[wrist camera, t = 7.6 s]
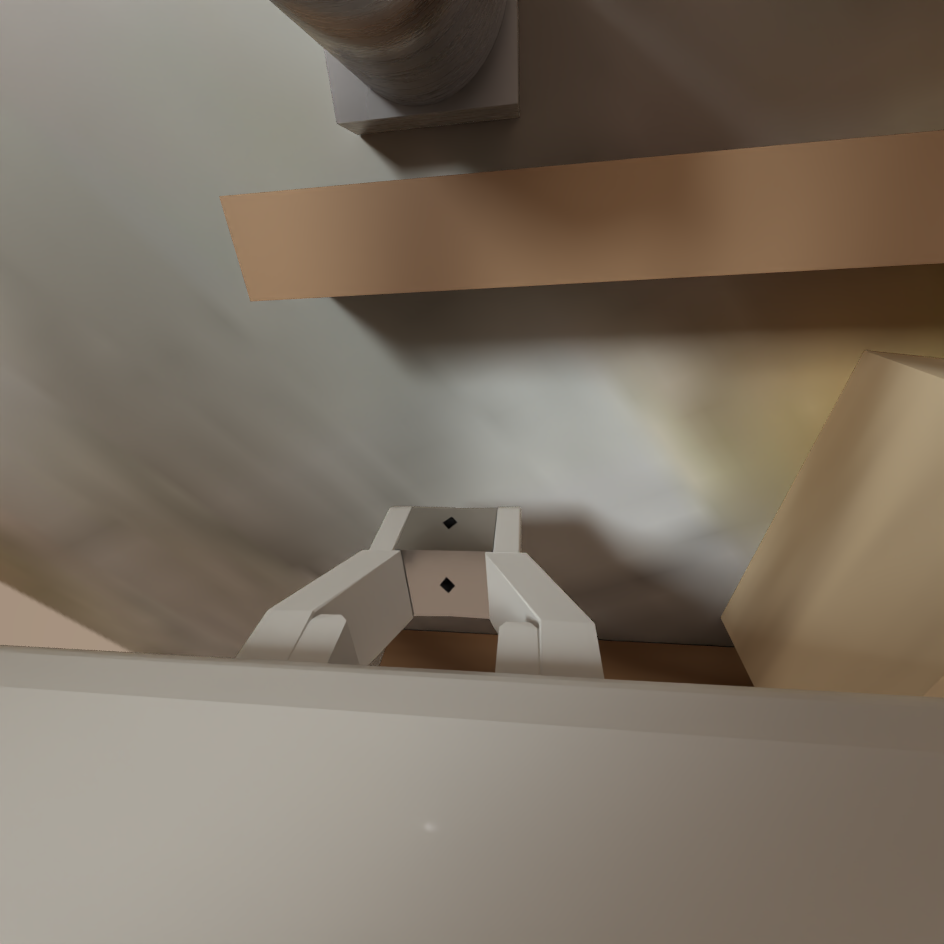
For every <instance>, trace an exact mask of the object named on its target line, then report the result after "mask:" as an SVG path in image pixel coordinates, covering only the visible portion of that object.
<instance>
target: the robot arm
mask: <svg viewBox="0 0 944 944" xmlns="http://www.w3.org/2000/svg"><path fill="white" fill-rule="evenodd" d="M413 616H455V617H470V618H485V619H490V621H491V623H492V625H493V627H494V629H495V630H496V632H497V634H498V645H497V657H496V668H495V673H494V672H476V671H459V670H441V669H423V668H404V667H386V666H368V665H369V664H370V663H371V662H372V661H373V660H374V659H375V658H376V657H377V656H378V655H379V654H380V653H381V652H382V651H383V649H384V648H385V647H386V646H387V645H388V644H389V643H390V642H391V641H392V640H393V639H394V638H395V637H396V636H397V635H398V634H399V633H400V632H401V630H402V629H403V628H404V627H405V626H406V625H407V624H408V623H409V622H410V621H411V620H412V619H413ZM0 944H944V698H943V697H925V696H907V695H889V694H871V693H853V692H835V691H817V690H799V689H781V688H763V687H745V686H727V685H709V684H691V683H672V682H653V681H634V680H615V679H604V674H603V668H602V662H601V656H600V651H599V645H598V639H597V633H596V628H595V623H594V622H593V621H592V620H591V619H590V618H589V617H588V616H587V615H586V614H585V613H584V612H583V611H582V610H581V609H580V608H579V607H578V606H577V605H576V604H575V603H574V602H573V600H572V599H571V598H570V597H569V596H568V595H567V594H566V593H565V592H564V591H563V590H562V589H561V588H560V587H559V586H558V585H557V584H556V583H555V582H554V581H553V580H552V579H551V578H550V577H549V576H548V574H547V573H546V572H545V571H544V570H543V569H542V568H541V567H540V566H539V565H538V564H537V563H536V562H535V561H534V560H533V559H532V558H531V557H530V556H529V555H528V554H527V553H522V540H521V508H520V507H498V508H456V507H420V506H414V507H412V506H393V507H391V508H390V509H389V510H388V512H387V514H386V516H385V518H384V520H383V522H382V524H381V526H380V528H379V530H378V532H377V534H376V536H375V538H374V540H373V543H372V545H371V547H370V549H369V550H362V551H360V552H358V553H357V554H355V555H354V556H352V557H350V558H349V559H347V560H346V561H344V562H343V563H341V564H339V565H338V566H336V567H335V568H333V569H332V570H330V571H328V572H327V573H325V574H324V575H322V576H321V577H319V578H317V579H316V580H314V581H313V582H311V583H309V584H308V585H306V586H305V587H303V588H302V589H300V590H298V591H297V592H295V593H294V594H292V595H291V596H289V597H287V598H286V599H284V600H283V601H281V602H280V603H278V604H276V605H275V606H273V607H272V608H270V609H269V610H267V612H266V613H265V615H264V616H263V618H262V619H261V621H260V622H259V624H258V625H257V626H256V628H255V629H254V631H253V632H252V634H251V635H250V637H249V638H248V640H247V641H246V643H245V644H244V646H243V647H242V648H241V650H240V651H239V653H238V654H237V656H236V657H235V658H223V657H205V656H187V655H169V654H151V653H133V652H115V651H97V650H79V649H61V648H43V647H25V646H8V645H0Z"/></svg>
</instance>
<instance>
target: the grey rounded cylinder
mask: <svg viewBox="0 0 944 944" xmlns="http://www.w3.org/2000/svg"><path fill="white" fill-rule="evenodd" d="M270 1H271V2H272V3H273V4H274V5H275V6H277V7H278V8H279V9H280V10H281V11H282V12H283V13H285V14H286V15H287V16H288V17H289V18H290V19H291V20H293V21H294V22H295V23H296V24H297V25H298V26H299V27H301V28H302V29H303V30H304V31H305V32H306V33H307V34H309V35H310V36H311V37H312V38H313V39H314V40H315V41H317V42H318V43H319V44H320V45H321V46H322V47H323V48H324V52H325V58H326V64H327V69H328V75H329V81H330V87H331V93H332V98H333V104H334V110H335V116H336V122H337V124H339V125H340V126H342V127H344V128H346V129H348V130H350V131H351V132H353V133H355V134H357V135H362V134H371V133H380V132H389V131H399V130H408V129H417V128H427V127H436V126H445V125H455V124H464V123H473V122H482V121H492V120H501V119H510V118H519V19H518V0H270Z"/></svg>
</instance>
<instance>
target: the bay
mask: <svg viewBox="0 0 944 944" xmlns="http://www.w3.org/2000/svg"><path fill="white" fill-rule="evenodd" d="M219 197H220V200H221V204H222V207H223V211H224V214H225V217H226V221H227V224H228V227H229V231H230V234H231V237H232V241H233V244H234V247H235V251H236V254H237V258H238V261H239V264H240V268H241V271H242V274H243V278H244V281H245V284H246V288H247V291H248V294H249V298H250V301H265V300H283V299H301V298H320V297H338V296H356V295H374V294H392V293H410V292H428V291H447V290H465V289H483V288H501V287H519V286H537V285H555V284H573V283H592V282H610V281H628V280H646V279H664V278H682V277H700V276H718V275H737V274H755V273H773V272H791V271H809V270H827V269H845V268H863V267H882V266H900V265H918V264H936V263H944V130H938V131H927V132H916V133H905V134H894V135H883V136H873V137H862V138H851V139H840V140H829V141H818V142H807V143H796V144H785V145H774V146H763V147H753V148H742V149H731V150H720V151H709V152H698V153H687V154H676V155H665V156H654V157H643V158H633V159H622V160H611V161H600V162H589V163H578V164H567V165H556V166H545V167H534V168H523V169H513V170H502V171H491V172H480V173H469V174H458V175H447V176H436V177H425V178H414V179H403V180H393V181H382V182H371V183H360V184H349V185H338V186H327V187H316V188H305V189H294V190H283V191H273V192H262V193H251V194H240V195H229V196H219ZM497 645H498V635H491V634H472V633H453V632H435V631H416V630H401V632H400V633H399V634H398V635H397V636H396V637H395V638H394V639H393V640H392V641H391V642H390V643H389V644H388V645H387V646H386V649H385V651H384V654H383V657H382V660H381V663H380V666H386V667H404V668H423V669H441V670H459V671H476V672H494V673H495V668H496V657H497ZM598 645H599V651H600V656H601V662H602V668H603V674H604V679H615V680H634V681H653V682H672V683H691V684H709V685H727V686H745V687H754V685H753V683H752V681H751V679H750V677H749V675H748V673H747V671H746V669H745V667H744V665H743V663H742V661H741V659H740V657H739V654H738V652H737V650H736V648H734V647H716V646H697V645H678V644H659V643H641V642H622V641H603V640H598Z"/></svg>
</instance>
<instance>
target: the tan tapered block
mask: <svg viewBox="0 0 944 944" xmlns="http://www.w3.org/2000/svg"><path fill="white" fill-rule="evenodd" d="M720 618H721V620H722V622H723V624H724V626H725V628H726V630H727V632H728V634H729V636H730V638H731V640H732V642H733V644H734V646H735V648H736V650H737V652H738V654H739V657H740V659H741V661H742V663H743V665H744V667H745V669H746V671H747V673H748V675H749V677H750V679H751V681H752V683H753V685H754V687H763V688H781V689H799V690H817V691H835V692H853V693H871V694H889V695H907V696H925V697H943V698H944V359H943V358H934V357H924V356H914V355H905V354H895V353H885V352H876V351H866V350H864V352H863V354H862V355H861V357H860V359H859V361H858V363H857V365H856V367H855V368H854V370H853V372H852V374H851V376H850V378H849V380H848V381H847V383H846V385H845V387H844V389H843V391H842V393H841V394H840V396H839V398H838V400H837V402H836V404H835V406H834V407H833V409H832V411H831V413H830V415H829V417H828V419H827V420H826V422H825V424H824V426H823V428H822V430H821V432H820V433H819V435H818V437H817V439H816V441H815V443H814V445H813V446H812V448H811V450H810V452H809V454H808V456H807V458H806V459H805V461H804V463H803V465H802V467H801V469H800V471H799V473H798V474H797V476H796V478H795V480H794V482H793V484H792V486H791V487H790V489H789V491H788V493H787V495H786V497H785V499H784V500H783V502H782V504H781V506H780V508H779V510H778V512H777V513H776V515H775V517H774V519H773V521H772V523H771V525H770V526H769V528H768V530H767V532H766V534H765V536H764V538H763V539H762V541H761V543H760V545H759V547H758V549H757V551H756V552H755V554H754V556H753V558H752V560H751V562H750V564H749V565H748V567H747V569H746V571H745V573H744V575H743V577H742V578H741V580H740V582H739V584H738V586H737V588H736V590H735V591H734V593H733V595H732V597H731V599H730V601H729V603H728V604H727V606H726V608H725V610H724V612H723V614H722V616H721V617H720Z"/></svg>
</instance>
